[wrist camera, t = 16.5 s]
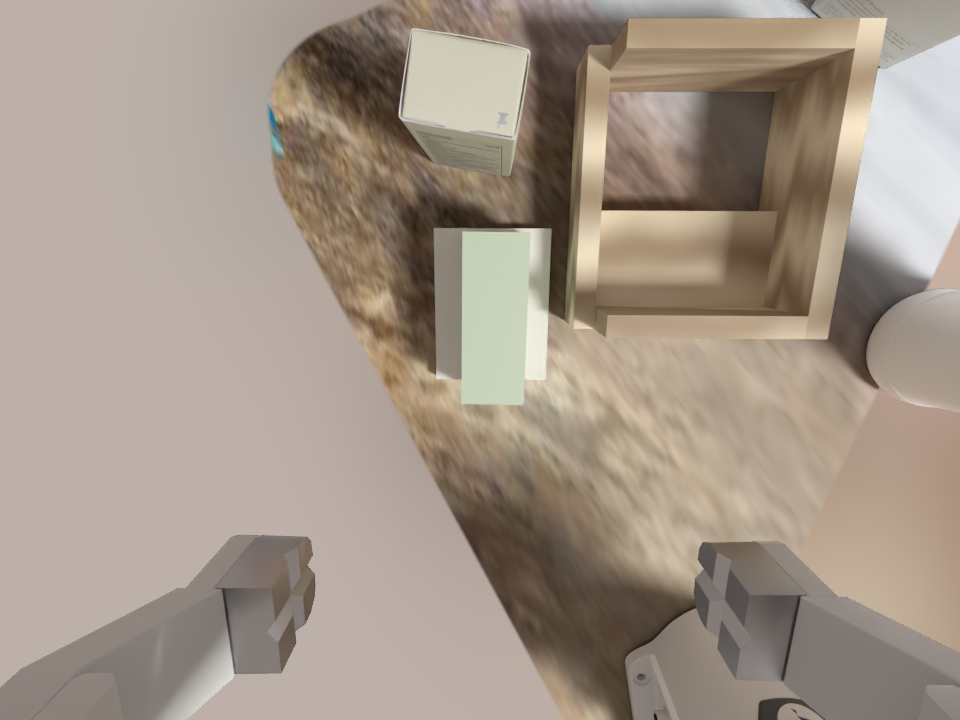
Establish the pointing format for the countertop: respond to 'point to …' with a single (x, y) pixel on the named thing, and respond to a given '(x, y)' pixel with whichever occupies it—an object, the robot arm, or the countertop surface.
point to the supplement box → (901, 23)
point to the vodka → (919, 350)
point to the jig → (725, 234)
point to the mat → (451, 300)
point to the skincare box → (464, 99)
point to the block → (494, 316)
